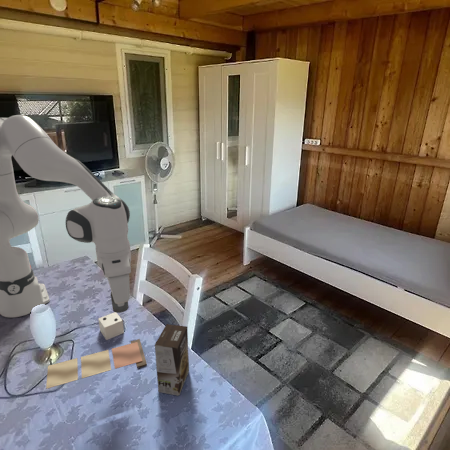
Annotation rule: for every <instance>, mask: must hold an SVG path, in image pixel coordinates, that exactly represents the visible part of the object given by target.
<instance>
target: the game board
mask: <svg viewBox="0 0 450 450" xmlns="http://www.w3.org/2000/svg"><path fill="white" fill-rule="evenodd" d="M111 354H112V358H113V360H112V361H113V366H114V369H116V370H117V369H119V368H123V367H126V366H130V365H134V364H136V369H140V368H143V367H146V366H148V363H147V359H146V357H145V352H144V350H143V346H142V342H141V339H140V338H138V339H134V340H131V341H130V343H128V344H125V345H120V346H117V347H113V348H111ZM78 363H79V362H78V357H76V358H72V359H68V360H64V361H61V362H58V363H53V364H50V365H47V374H46V386H45V388H46V389H45V390H48V389H52V388H55V387H58V386H60V385H65V384H68V383H71V382H75V381H78V380H79V379H78V378H79V375H78V374H79V369H78V367H79V366H78ZM80 363H81V364H80V366H81V369H80V370H81V379H84V378H88V377H92V376H96V375H98V374H102V373H105V372H109V371H112V363H111V358H110V351H109V349H106V350H102V351H98V352H95V353H91V354H87V355H83V356H80Z"/></svg>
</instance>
